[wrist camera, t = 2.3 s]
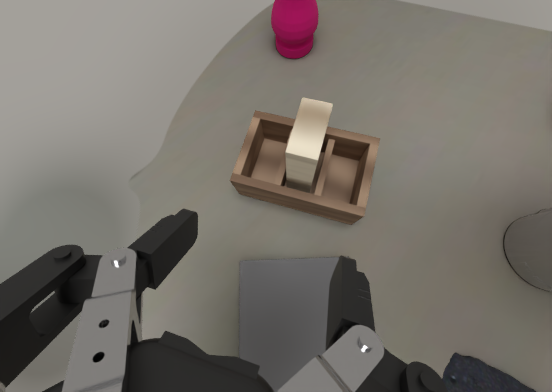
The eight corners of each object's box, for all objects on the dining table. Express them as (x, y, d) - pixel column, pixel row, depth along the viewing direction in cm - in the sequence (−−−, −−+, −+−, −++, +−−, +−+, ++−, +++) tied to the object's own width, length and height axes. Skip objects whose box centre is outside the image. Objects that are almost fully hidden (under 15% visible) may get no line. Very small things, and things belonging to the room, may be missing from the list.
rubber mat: (240, 260, 32) (239, 260, 31) (347, 256, 31) (348, 256, 31) (239, 427, 27) (238, 431, 26) (366, 427, 26) (368, 430, 26)
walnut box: (351, 224, 32) (364, 216, 27) (239, 194, 34) (229, 180, 29) (365, 158, 35) (379, 138, 29) (260, 133, 37) (255, 110, 31)
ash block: (308, 196, 33) (317, 160, 21) (287, 191, 33) (285, 152, 22) (318, 157, 34) (333, 103, 23) (298, 152, 35) (302, 97, 23)
